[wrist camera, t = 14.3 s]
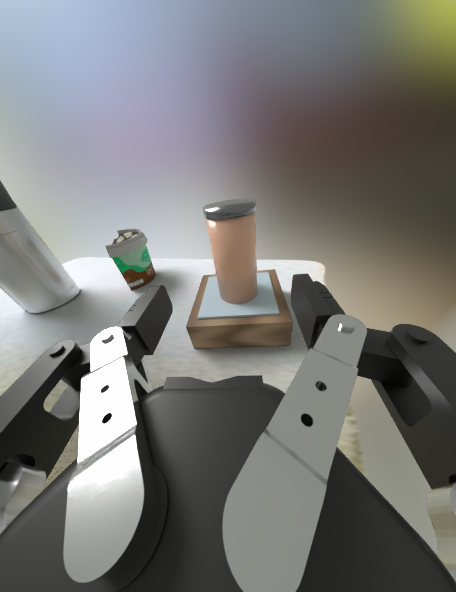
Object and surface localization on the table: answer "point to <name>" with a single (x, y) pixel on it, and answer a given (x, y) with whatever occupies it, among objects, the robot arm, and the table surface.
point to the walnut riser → (240, 316)
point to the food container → (132, 257)
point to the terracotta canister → (234, 248)
